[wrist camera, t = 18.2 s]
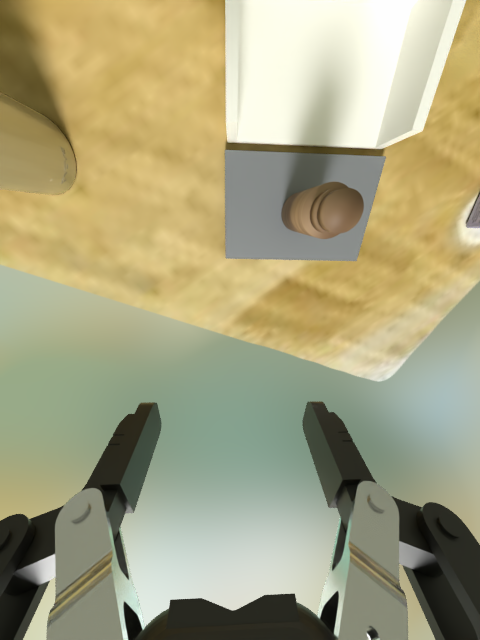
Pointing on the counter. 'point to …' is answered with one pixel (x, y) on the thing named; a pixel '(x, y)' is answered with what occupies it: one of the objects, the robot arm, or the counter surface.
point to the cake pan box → (475, 216)
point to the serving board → (276, 187)
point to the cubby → (334, 69)
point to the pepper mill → (323, 210)
